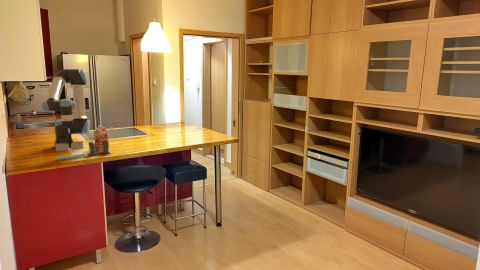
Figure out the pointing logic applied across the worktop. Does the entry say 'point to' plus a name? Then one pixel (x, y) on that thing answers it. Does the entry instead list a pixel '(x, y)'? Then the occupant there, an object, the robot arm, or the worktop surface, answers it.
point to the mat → (70, 157)
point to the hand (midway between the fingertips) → (70, 151)
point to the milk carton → (100, 138)
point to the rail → (65, 146)
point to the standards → (92, 152)
